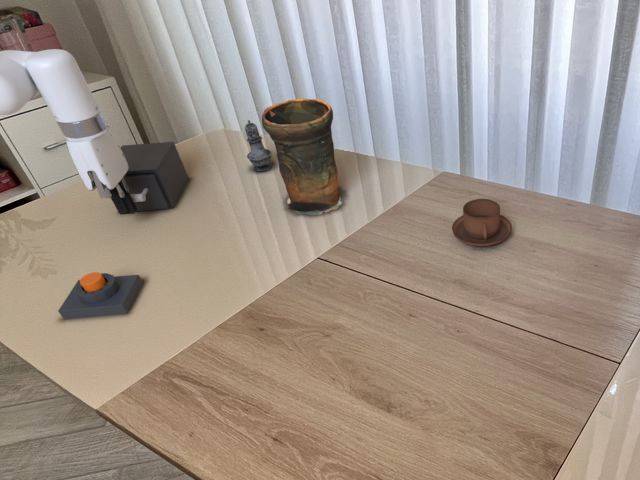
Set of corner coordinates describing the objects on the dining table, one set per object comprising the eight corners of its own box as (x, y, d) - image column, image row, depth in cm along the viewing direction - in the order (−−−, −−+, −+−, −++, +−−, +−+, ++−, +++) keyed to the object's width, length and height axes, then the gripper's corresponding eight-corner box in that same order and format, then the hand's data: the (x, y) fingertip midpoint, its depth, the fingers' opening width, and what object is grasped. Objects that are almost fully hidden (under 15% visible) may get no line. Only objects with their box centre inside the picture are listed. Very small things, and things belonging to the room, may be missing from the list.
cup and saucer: (522, 241, 110) (523, 214, 105) (468, 258, 106) (467, 231, 102) (494, 213, 117) (494, 187, 113) (443, 228, 114) (441, 201, 110)
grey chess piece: (246, 172, 135) (230, 124, 126) (258, 161, 139) (243, 114, 130) (268, 174, 134) (253, 125, 125) (279, 163, 138) (265, 115, 129)
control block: (64, 320, 97) (51, 303, 94) (84, 288, 103) (72, 271, 101) (128, 314, 98) (117, 297, 95) (144, 283, 104) (134, 266, 101)
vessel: (357, 185, 128) (340, 97, 114) (338, 218, 118) (318, 125, 104) (299, 183, 130) (275, 95, 116) (275, 214, 120) (247, 123, 106)
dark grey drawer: (163, 218, 119) (147, 185, 113) (114, 222, 118) (95, 189, 113) (183, 181, 131) (169, 149, 125) (138, 184, 130) (123, 153, 125)
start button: (81, 293, 97) (76, 285, 95) (89, 280, 99) (84, 273, 98) (102, 291, 97) (97, 283, 96) (109, 279, 99) (104, 271, 98)
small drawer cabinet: (174, 209, 123) (156, 168, 117) (121, 213, 123) (100, 173, 116) (189, 180, 133) (173, 141, 126) (140, 183, 132) (121, 145, 126)
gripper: (79, 110, 107) (123, 195, 120) (43, 143, 97) (96, 232, 110) (118, 108, 108) (158, 193, 121) (87, 141, 97) (134, 230, 110)
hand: (128, 211), depth 115 cm, fingers closed
